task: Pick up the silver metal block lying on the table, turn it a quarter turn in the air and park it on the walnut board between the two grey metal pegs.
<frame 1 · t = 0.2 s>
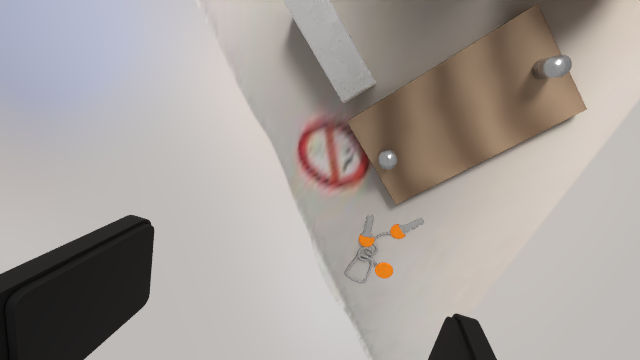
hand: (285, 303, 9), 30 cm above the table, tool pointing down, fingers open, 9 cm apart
silver metal block: (335, 48, 36), on the table
peg board: (455, 115, 35), on the table
key chain: (380, 246, 41), on the table
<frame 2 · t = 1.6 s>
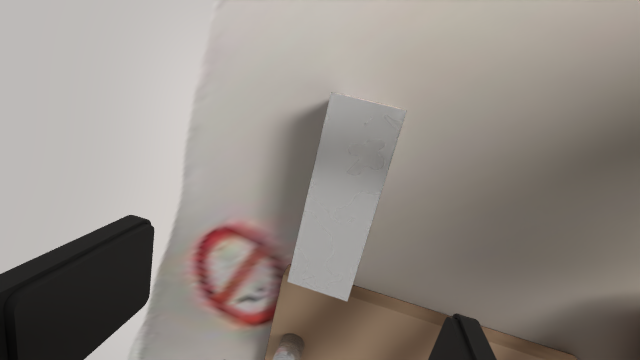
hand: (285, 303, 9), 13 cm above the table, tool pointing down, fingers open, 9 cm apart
silver metal block: (348, 183, 22), on the table
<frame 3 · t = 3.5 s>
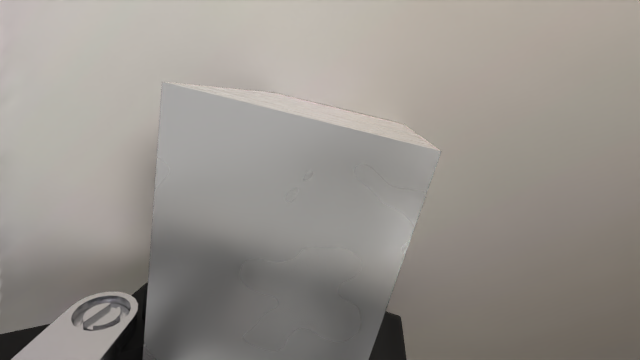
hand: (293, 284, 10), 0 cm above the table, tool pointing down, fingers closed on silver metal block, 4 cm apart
silver metal block: (296, 278, 11), on the table, touching gripper
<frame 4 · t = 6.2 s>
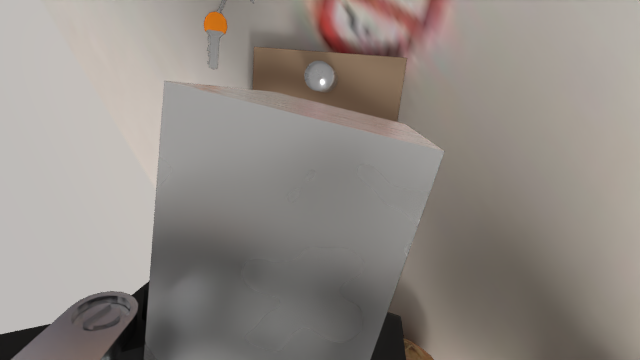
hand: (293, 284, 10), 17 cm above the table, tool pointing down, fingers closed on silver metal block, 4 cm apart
silver metal block: (297, 277, 11), point 17 cm above the table, touching gripper
peg board: (318, 183, 27), on the table
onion: (389, 352, 31), on the table
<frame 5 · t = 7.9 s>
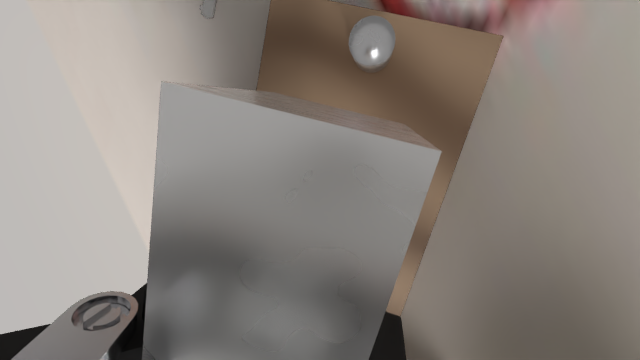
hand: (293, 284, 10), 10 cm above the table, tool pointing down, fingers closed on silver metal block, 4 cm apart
silver metal block: (296, 278, 11), point 10 cm above the table, touching gripper
peg board: (335, 199, 20), on the table
when the fingers open (3 cm above the table, at t = 9.4 s): silver metal block drops 1 cm, resting on peg board.
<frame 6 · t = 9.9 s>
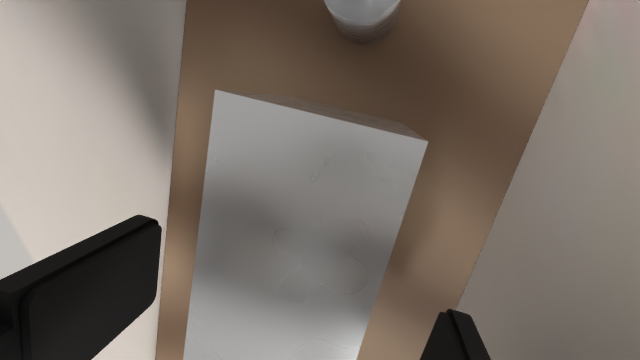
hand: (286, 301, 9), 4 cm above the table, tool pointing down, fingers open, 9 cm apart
silver metal block: (307, 260, 12), point 1 cm above the table, touching peg board
peg board: (312, 241, 13), on the table
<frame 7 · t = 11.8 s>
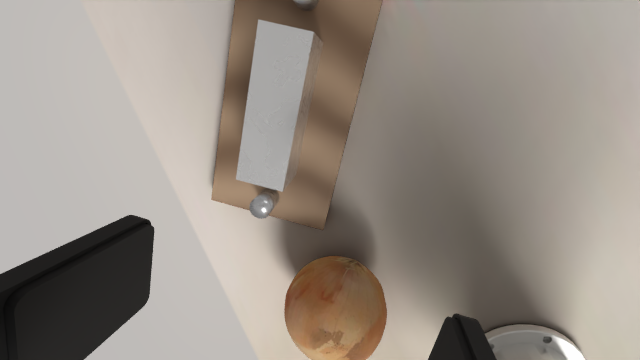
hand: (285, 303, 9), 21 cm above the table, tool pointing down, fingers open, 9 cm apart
silver metal block: (287, 108, 27), point 1 cm above the table, touching peg board
peg board: (290, 106, 29), on the table
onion: (338, 276, 34), on the table
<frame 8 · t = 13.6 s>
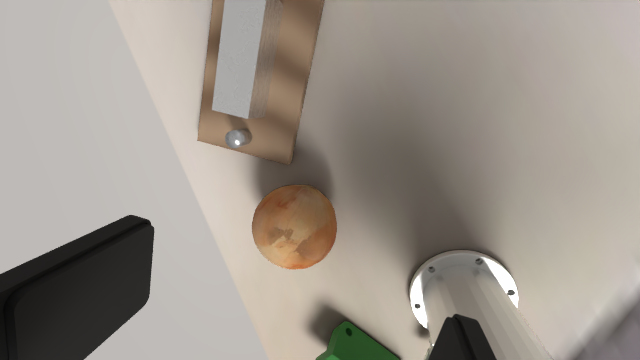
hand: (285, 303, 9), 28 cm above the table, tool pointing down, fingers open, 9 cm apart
silver metal block: (257, 60, 34), point 1 cm above the table, touching peg board
peg board: (261, 61, 35), on the table
clamp: (359, 352, 43), on the table
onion: (304, 211, 39), on the table
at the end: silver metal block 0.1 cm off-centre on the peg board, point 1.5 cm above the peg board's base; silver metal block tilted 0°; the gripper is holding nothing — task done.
